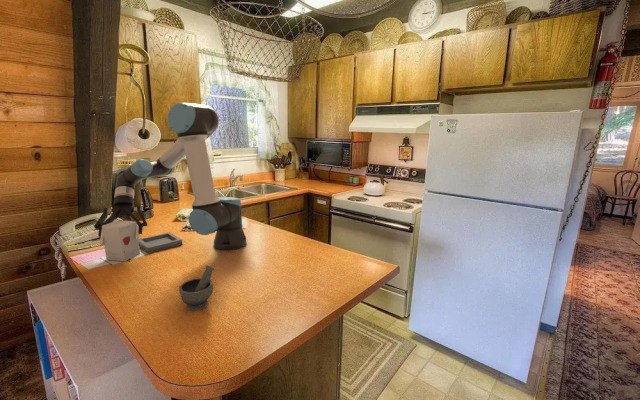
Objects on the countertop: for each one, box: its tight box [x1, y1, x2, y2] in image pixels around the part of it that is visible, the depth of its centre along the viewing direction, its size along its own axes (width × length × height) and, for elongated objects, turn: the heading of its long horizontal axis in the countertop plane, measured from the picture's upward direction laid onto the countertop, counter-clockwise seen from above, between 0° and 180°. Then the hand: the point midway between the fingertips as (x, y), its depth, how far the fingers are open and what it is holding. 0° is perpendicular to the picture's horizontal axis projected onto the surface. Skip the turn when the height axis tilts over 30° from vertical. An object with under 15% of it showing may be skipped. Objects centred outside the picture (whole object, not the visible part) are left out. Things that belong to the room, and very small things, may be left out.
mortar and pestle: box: [178, 264, 215, 312], centre depth 94 cm, size 11×9×12 cm
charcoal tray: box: [139, 231, 183, 254], centre depth 143 cm, size 15×15×2 cm
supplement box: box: [102, 219, 141, 262], centre depth 127 cm, size 9×9×15 cm
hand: (120, 242), depth 125 cm, fingers closed on supplement box, 12 cm apart
